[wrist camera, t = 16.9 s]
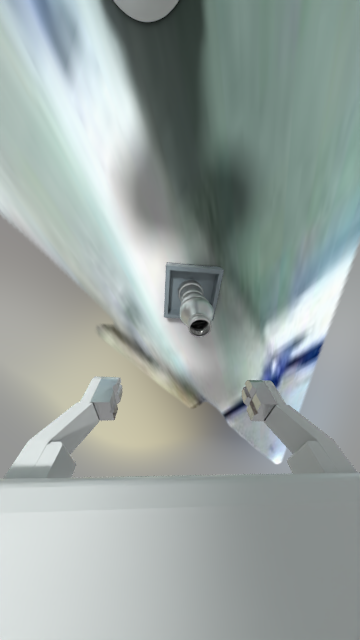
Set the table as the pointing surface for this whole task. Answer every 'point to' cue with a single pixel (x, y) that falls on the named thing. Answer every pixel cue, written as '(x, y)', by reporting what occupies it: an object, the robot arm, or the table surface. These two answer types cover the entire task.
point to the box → (181, 272)
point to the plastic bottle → (195, 308)
